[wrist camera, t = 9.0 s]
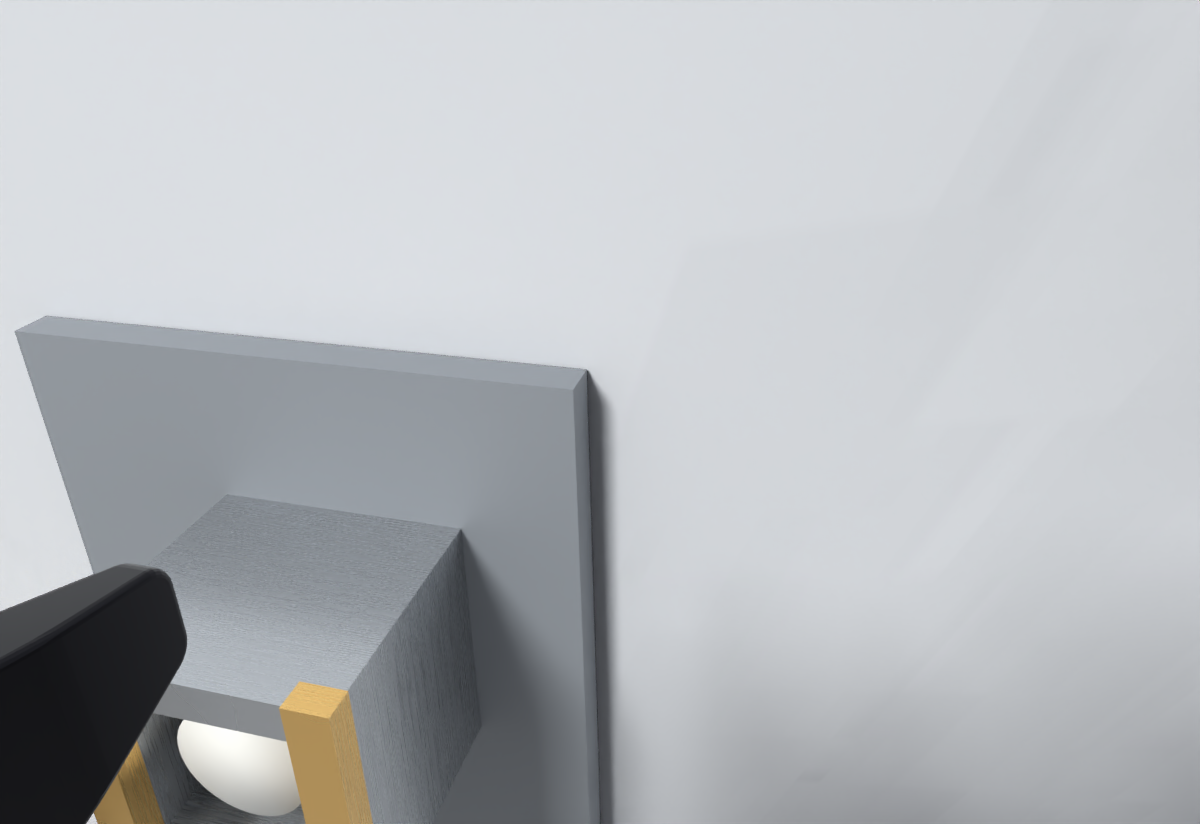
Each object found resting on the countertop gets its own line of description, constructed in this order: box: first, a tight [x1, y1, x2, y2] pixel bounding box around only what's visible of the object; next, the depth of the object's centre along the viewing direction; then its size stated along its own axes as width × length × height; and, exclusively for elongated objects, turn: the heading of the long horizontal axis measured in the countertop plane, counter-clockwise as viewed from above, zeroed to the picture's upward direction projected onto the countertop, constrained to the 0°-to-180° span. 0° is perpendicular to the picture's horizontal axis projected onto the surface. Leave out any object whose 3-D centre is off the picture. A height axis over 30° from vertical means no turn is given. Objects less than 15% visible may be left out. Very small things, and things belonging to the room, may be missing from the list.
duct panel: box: [15, 316, 600, 824], centre depth 24 cm, size 14×18×6 cm
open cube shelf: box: [94, 494, 481, 824], centre depth 22 cm, size 6×6×6 cm
